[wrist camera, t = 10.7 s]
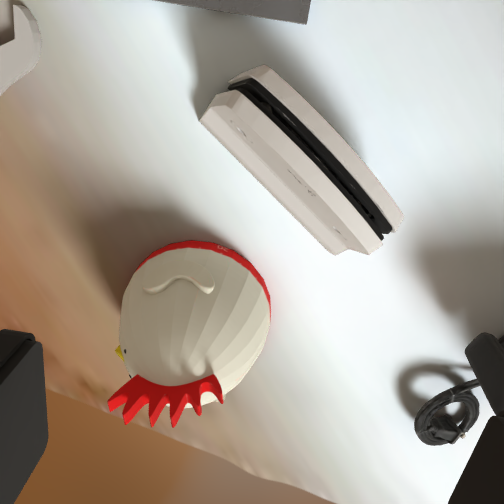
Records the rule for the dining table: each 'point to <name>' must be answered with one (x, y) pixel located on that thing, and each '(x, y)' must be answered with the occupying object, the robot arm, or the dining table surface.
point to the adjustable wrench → (20, 48)
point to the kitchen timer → (189, 328)
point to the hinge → (302, 162)
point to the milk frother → (466, 393)
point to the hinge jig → (256, 8)
